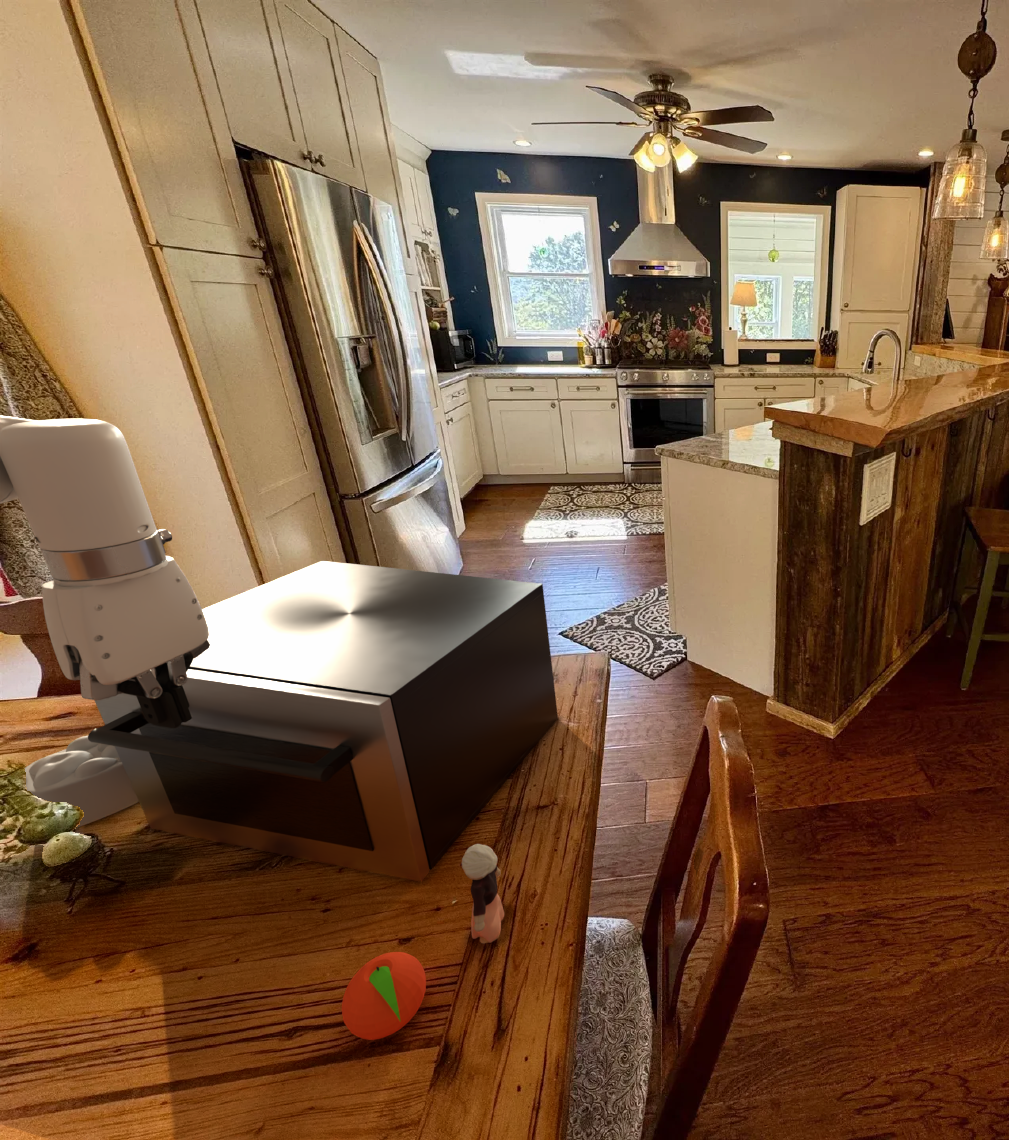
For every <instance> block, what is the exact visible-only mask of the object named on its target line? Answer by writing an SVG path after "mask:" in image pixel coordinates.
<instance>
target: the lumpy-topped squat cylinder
mask: <svg viewBox="0 0 1009 1140" xmlns="http://www.w3.org/2000/svg"><path fill="white" fill-rule="evenodd" d="M24 769H25V772H26V787H27V791H30V792H31V793H32V794H33V795H35V796H37V797H38V798H42V799H44V800H47V801H52V802H67V803H69V804H72V805H74V806H78V807H80V809H81V810H83V812H84V817H83V818H82V820H81V821H80V825H78V827H77V828H80V827H83V826H85V825H88V824H90V823H93V822H96V821H99V820H101V819H103V818H107V817H109V816H111V815H114V814H116V813H118V812H121V811H123V810H125V809H127V808H129V807H132V806H134V805H135V804H138V803H139V800H138V798H137V796H136V794H135V791H134V789H133V787H132V785H131V782H130V780H129V778H128V776H127V773H126V771H125V769H124V766H123V764H122V762H121V760H120V757H119V755H118V753H117V751H116V748H115V746H111V745H105V744H100V743H94V742H90V741H89V740H88V735H84V736H80V737H78V738H76V739H74V740H73V741H71V742H70V743H68V745H67V746H66V748H65V749H63V750H60V751H57V752H54V753H52V754H49V755H45V756H44V757H41V758H39V759H37V760H35V761H33V762H31V763H30V764H28V765H27V766H25V768H24Z"/></svg>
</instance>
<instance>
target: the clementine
mask: <svg viewBox="0 0 1009 1140" xmlns="http://www.w3.org/2000/svg"><path fill="white" fill-rule="evenodd" d="M426 987H427V975H426V971H425V968H424V966H423V965H422V963H421V962H420V961H419V960H418V958H417V957H415V956H414V955H411V954H409V953H407V952H403V951H391V952H385V953H383V954H380V955H377V956H375V957H374V958H372V959H370V960H369V961H367V962H366V963H364V964H363V965H362V966H361V967H360V969H358V970H357V972H356V973H355V974H354V975H353V976H352V978H351V979H350V981H349V982H348V984H347V986H346V989H345V991H344V993H343V996H342V1002H341V1016H342V1020H343V1021H342V1022H343V1023H344V1025H345V1026H346V1028H347V1029H348V1031H349V1032H350V1033H351V1034H352V1035H354V1036H356V1037H357V1038H360V1039H363V1040H368V1041H374V1040H380V1039H384V1038H386V1037H388V1036H392V1035H393V1034H396V1033H397V1032H398V1031H399V1030H401V1029H402V1028H403V1027H405V1026H406V1025H407V1024H408V1023H409V1022H410V1021H411V1020H412V1019H413V1018H414V1017H415V1015H416V1014H417V1012H418V1011H419V1009H420V1008H421V1006H422V1002H423V1000H424V998H425V994H426V990H427V988H426Z"/></svg>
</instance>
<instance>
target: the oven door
mask: <svg viewBox="0 0 1009 1140" xmlns="http://www.w3.org/2000/svg"><path fill="white" fill-rule="evenodd" d="M186 673H187V681H186V683H185V684H184V685H182V686H183V689H184V691H185V694H186V697H187V699H188V702H189V705H190V706H189V711H190V714H191V716H192V719H191V720H189V721H187V722H182V723H181V725H180V726H178V727H177V728H168V727H161V726H155V725H152V724H150V723H149V722H147V720H146V719H145V717H144V714H143V712H142V709H141V707H140V704H139V702H138V699H137V697H136V696H133V695H129V694H124V693H122V694H118V695H116V696H113V697H109V698H105V699H102V700H93V701H94V702H95V705H96V708H97V710H98V712H99V714H100V716H101V719H102V721H103V724H104V725H102V726H100V727H97V728H96V727H95V728H94V729H92V730H91V731H90V732H89V733H88V735H87V736H88V740H89V741H90V742H94V743H100V744H105V745H111V746H115V748H116V751H117V753H118V755H119V757H120V760H121V762H122V764H123V766H124V769H125V771H126V773H127V776H128V778H129V780H130V782H131V785H132V787H133V789H134V791H135V794H136V796H137V798H138V800H139V802H138V803H139V805H140V807H141V810H142V812H143V814H144V816H145V818H146V821H147V823H148V825H149V828H150V829H151V830H156V831H160V832H161V831H162V832H166V833H172V834H175V835H180V836H181V835H182V836H186V837H190V838H196V839H200V840H201V839H202V840H207V841H210V842H211V841H212V842H217V843H222V844H227V845H232V846H237V847H243V848H248V849H252V850H257V851H263V852H268V853H272V854H278V855H283V856H287V857H293V858H298V859H303V860H308V861H314V862H319V863H322V864H329V865H333V866H338V867H343V868H348V869H354V870H358V871H364V872H370V873H374V874H378V875H379V874H380V875H383V876H389V877H394V878H399V879H403V880H404V879H405V880H410V881H415V882H423V880H424V879H425V878H426V877H427V876H428V874H429V873H430V872H431V869H429V865H428V861H427V857H426V852H425V848H424V843H423V839H422V835H421V830H420V826H419V822H418V817H417V813H416V809H415V804H414V800H413V796H412V791H411V787H410V783H409V778H408V774H407V770H406V765H405V761H404V757H403V752H402V748H401V744H400V739H399V735H398V731H397V726H396V722H395V718H394V713H393V709H392V704H391V700H390V698H389V697H382V696H375V695H368V694H361V693H354V692H347V691H340V690H333V689H326V688H319V687H312V686H305V685H298V684H291V683H284V682H277V681H270V680H263V679H256V678H249V677H242V676H235V675H228V674H221V673H214V672H207V671H201V670H194V669H188V671H187V672H186Z"/></svg>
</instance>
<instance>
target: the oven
mask: <svg viewBox="0 0 1009 1140" xmlns="http://www.w3.org/2000/svg"><path fill="white" fill-rule="evenodd" d="M545 601H546V600H545V594H544V586H543V583H540V582H529V581H521V580H520V581H518V580H513V579H512V580H510V579H502V578H501V579H500V578H492V577H481V576H472V575H465V574H455V573H454V574H452V573H444V572H443V573H442V572H434V571H425V570H416V569H415V570H414V569H407V568H406V569H404V568H395V567H387V566H386V567H385V566H377V565H367V564H366V565H365V564H357V563H347V562H339V561H330V560H329V561H327V560H320V561H318V562H315V563H313V564H310V565H308V566H306V567H304V568H303V567H302V568H301V569H299V570H296V571H294V572H291V573H289V574H286V575H284V576H281V577H278V578H276V579H274V580H271V581H269V582H266V583H264V584H261V585H259V586H256V587H254V588H251V589H249V590H246V591H244V592H242V593H239V594H236V595H234V596H231V597H229V598H227V599H223V600H222V601H220V602H217V603H214V604H212V605H209V606H207V607H205V608H202V611H203V613H204V616H205V619H206V622H207V625H208V630H209V637H208V639H207V640H208V641H209V642H210V647H209V648H208V649H207V650H206V651H205V652H203V653H202V654H201V655H199V656H198V657H196V658H194V659H193V661H192V663H191V665H190V667H189V669H194V670H201V671H207V672H214V673H221V674H228V675H235V676H242V677H249V678H256V679H263V680H270V681H277V682H284V683H291V684H298V685H305V686H312V687H319V688H326V689H333V690H340V691H347V692H354V693H361V694H368V695H375V696H382V697H389V698H390V700H391V704H392V709H393V713H394V718H395V722H396V726H397V731H398V735H399V739H400V744H401V748H402V752H403V757H404V761H405V765H406V770H407V774H408V778H409V783H410V787H411V791H412V796H413V800H414V804H415V809H416V813H417V817H418V822H419V826H420V830H421V835H422V839H423V843H424V848H425V852H426V857H427V861H428V865H429V870H433V869H434V867H435V866H436V865H437V864H438V862H439V861H441V859H442V858H443V857H444V856H445V854H446V853H447V852H448V850H450V848H451V847H452V846H453V845H454V844H455V842H456V841H458V839H459V838H460V837H461V835H462V834H463V833H464V831H465V830H466V829H467V828H468V827H469V826H470V825H471V823H472V822H473V821H474V820H475V818H476V817H477V816H478V815H479V814H480V813H481V811H482V810H483V809H484V808H485V807H486V806H487V804H489V802H490V801H491V799H492V798H493V797H494V796H495V795H496V794H497V792H498V791H499V790H500V789H501V787H502V786H503V785H504V784H505V783H506V782H507V780H508V779H509V778H510V777H511V776H512V775H513V773H514V772H515V771H516V769H517V768H518V767H519V766H521V764H522V762H523V761H524V760H525V759H526V758H527V757H528V756H529V754H531V752H532V751H533V750H534V748H535V747H536V746H537V745H538V743H540V741H541V740H542V739H543V737H544V736H545V735H546V734H547V733H548V732H549V730H550V729H551V728H552V727H553V725H554V724H556V722H557V721H558V720H559V715H558V706H557V697H556V688H555V681H554V672H553V670H554V669H553V663H552V653H551V646H550V639H549V628H548V619H547V611H546V602H545Z"/></svg>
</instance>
